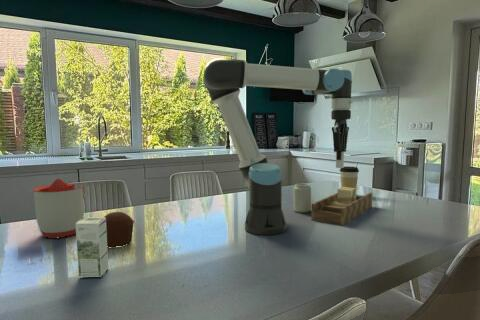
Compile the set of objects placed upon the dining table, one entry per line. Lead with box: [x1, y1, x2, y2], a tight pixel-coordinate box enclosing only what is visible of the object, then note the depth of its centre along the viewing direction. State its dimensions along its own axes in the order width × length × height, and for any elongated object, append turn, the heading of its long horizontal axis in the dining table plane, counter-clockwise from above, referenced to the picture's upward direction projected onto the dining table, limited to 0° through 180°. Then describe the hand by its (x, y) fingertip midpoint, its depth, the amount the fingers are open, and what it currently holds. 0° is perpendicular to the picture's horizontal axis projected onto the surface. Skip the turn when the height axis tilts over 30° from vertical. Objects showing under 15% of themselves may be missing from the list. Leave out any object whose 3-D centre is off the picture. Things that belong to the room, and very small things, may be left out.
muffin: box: [103, 211, 135, 247], centre depth 111 cm, size 12×11×10 cm
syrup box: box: [75, 216, 110, 277], centre depth 88 cm, size 6×6×14 cm
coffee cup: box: [339, 166, 360, 189], centre depth 181 cm, size 10×10×15 cm
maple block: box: [336, 186, 357, 204], centre depth 148 cm, size 6×6×6 cm
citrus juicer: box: [32, 178, 88, 239], centre depth 122 cm, size 16×17×20 cm
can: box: [293, 182, 312, 214], centre depth 150 cm, size 8×8×12 cm
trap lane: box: [311, 191, 373, 226], centre depth 146 cm, size 36×13×6 cm, turn 143°
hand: (339, 167), depth 140 cm, fingers closed
